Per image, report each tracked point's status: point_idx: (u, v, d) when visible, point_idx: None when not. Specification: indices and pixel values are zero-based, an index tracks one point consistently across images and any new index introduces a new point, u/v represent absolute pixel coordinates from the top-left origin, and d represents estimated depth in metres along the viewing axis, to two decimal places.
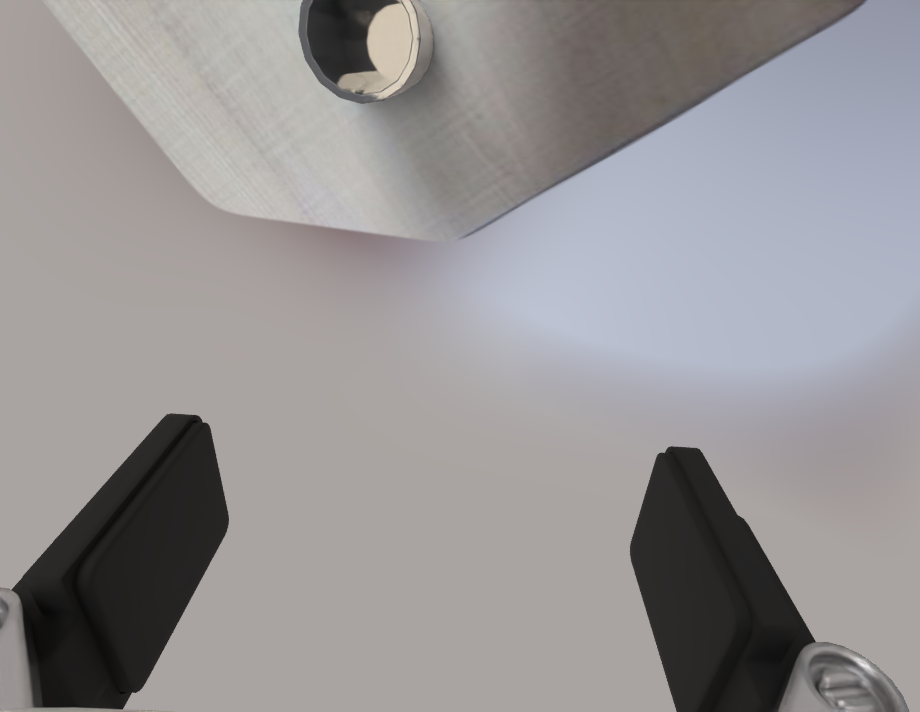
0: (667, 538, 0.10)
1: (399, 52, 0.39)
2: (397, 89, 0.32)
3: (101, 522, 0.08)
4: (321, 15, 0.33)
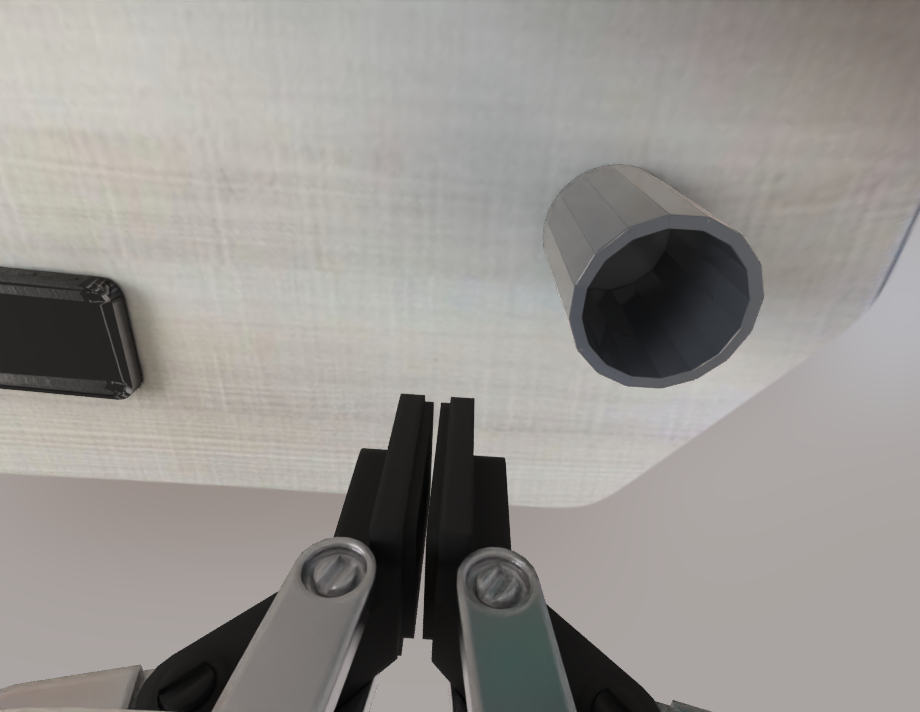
0: None
1: None
2: (759, 307, 0.20)
3: (403, 484, 0.09)
4: None
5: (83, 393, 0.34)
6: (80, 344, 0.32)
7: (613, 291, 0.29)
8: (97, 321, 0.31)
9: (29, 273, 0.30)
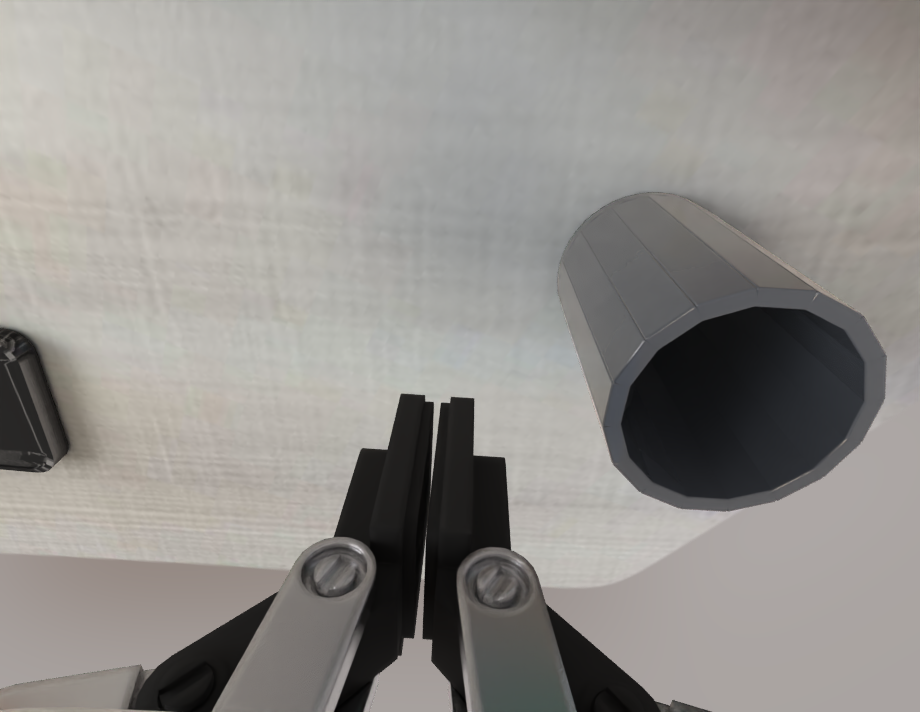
0: None
1: None
2: (876, 411, 0.14)
3: (403, 484, 0.09)
4: None
5: None
6: None
7: None
8: (3, 383, 0.25)
9: None
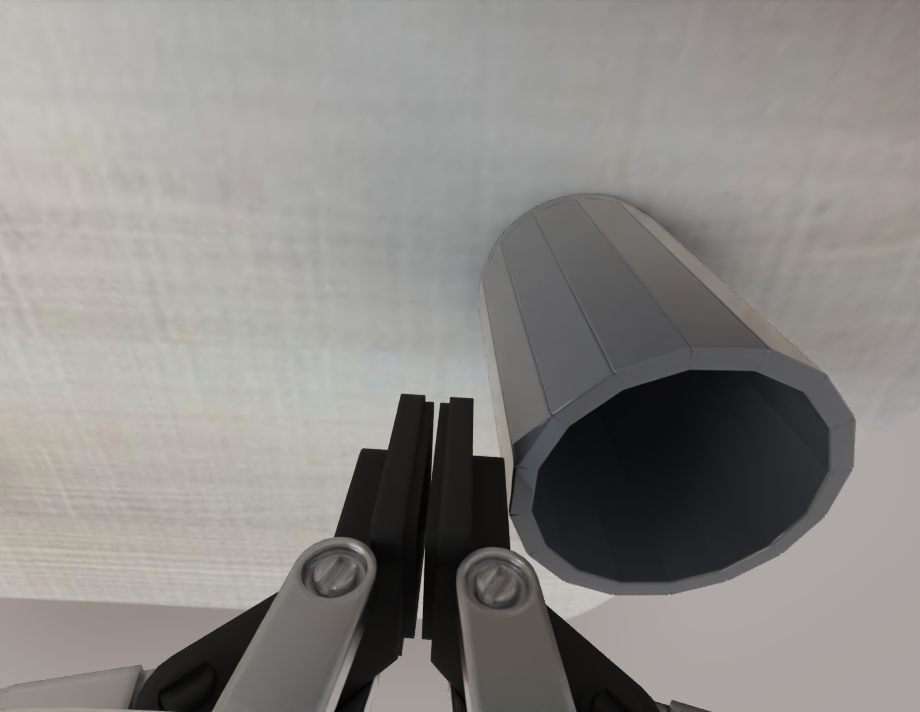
0: None
1: None
2: (843, 481, 0.11)
3: (404, 484, 0.09)
4: None
5: None
6: None
7: None
8: None
9: None
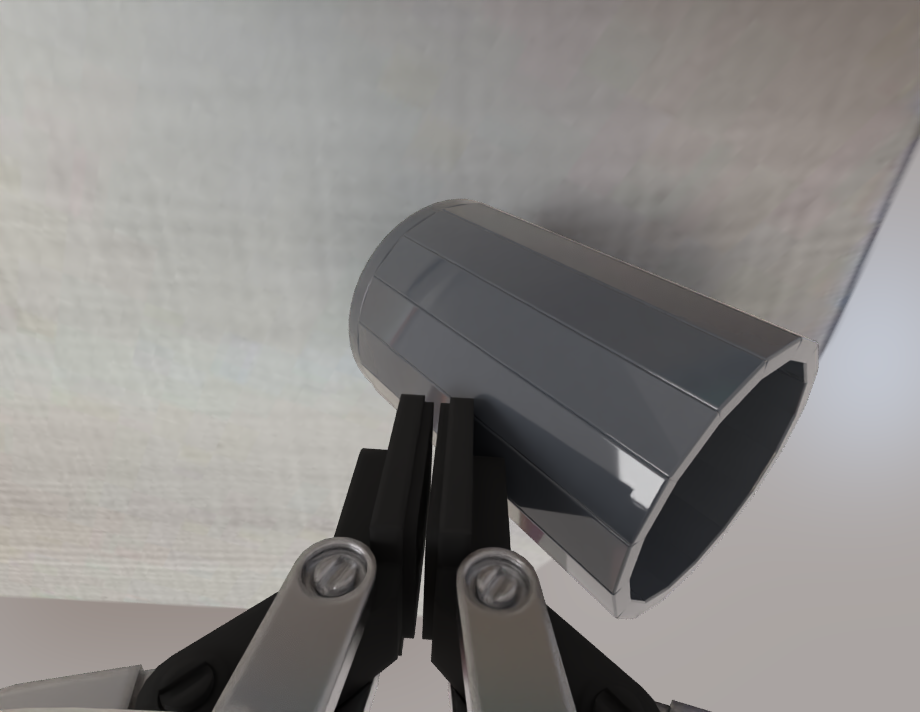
0: None
1: None
2: (798, 417, 0.13)
3: (404, 484, 0.09)
4: None
5: None
6: None
7: None
8: None
9: None
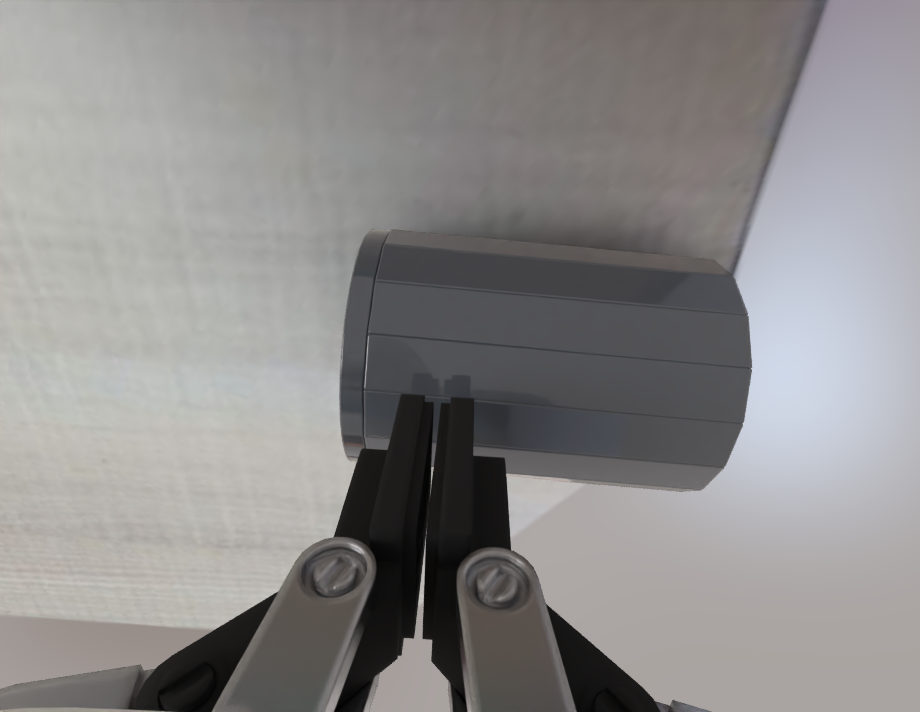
0: None
1: None
2: None
3: (403, 484, 0.09)
4: None
5: None
6: None
7: None
8: None
9: None
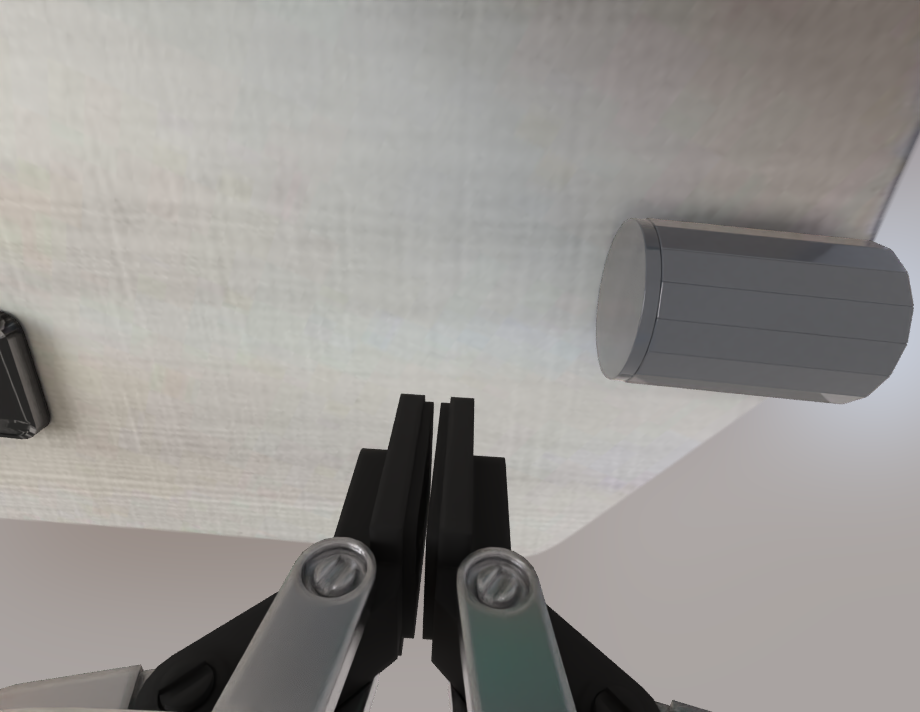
0: None
1: None
2: None
3: (404, 484, 0.09)
4: None
5: None
6: None
7: None
8: None
9: None
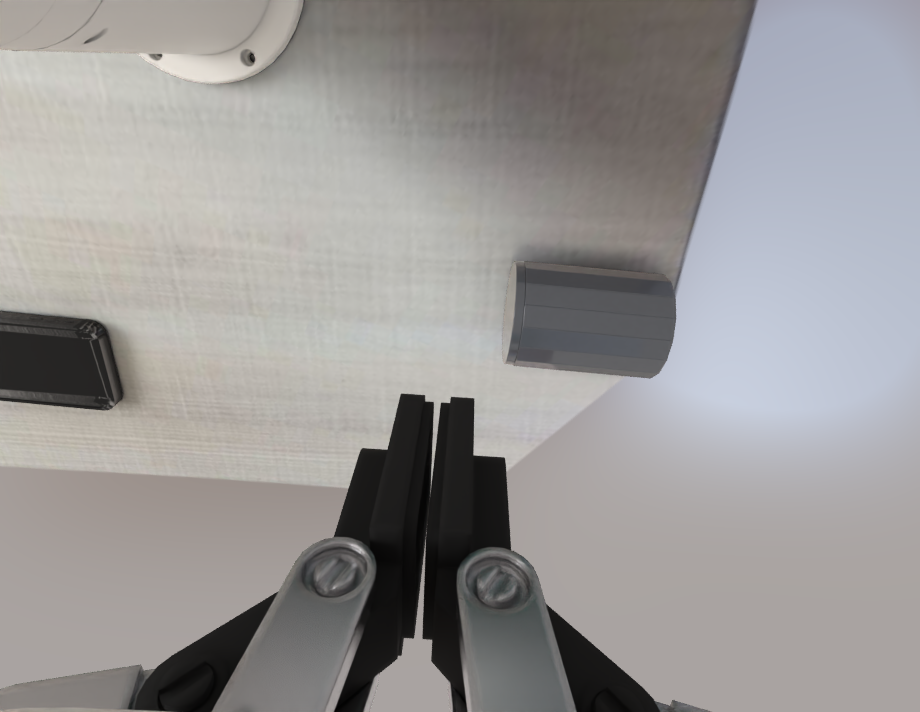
0: None
1: None
2: None
3: (403, 484, 0.09)
4: None
5: (77, 405, 0.44)
6: (75, 369, 0.43)
7: None
8: (87, 352, 0.42)
9: (37, 318, 0.41)
